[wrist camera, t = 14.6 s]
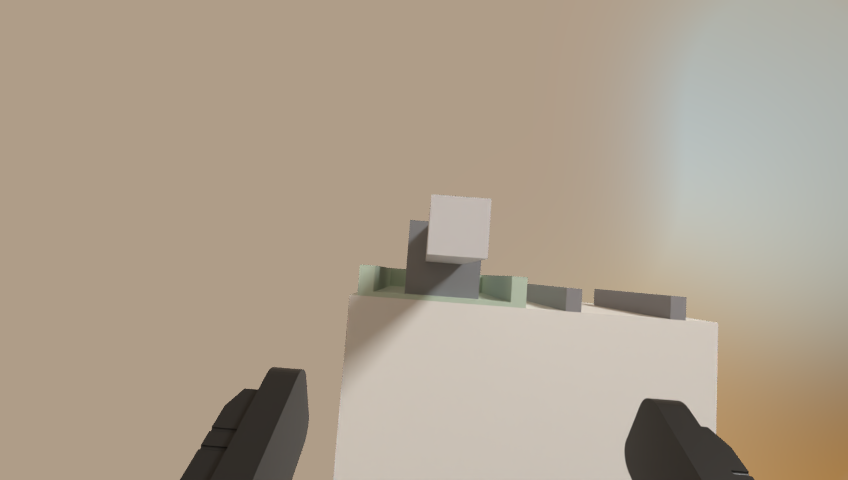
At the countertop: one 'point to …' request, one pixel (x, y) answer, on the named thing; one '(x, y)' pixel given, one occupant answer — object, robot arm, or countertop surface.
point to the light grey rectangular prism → (449, 248)
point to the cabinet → (510, 379)
